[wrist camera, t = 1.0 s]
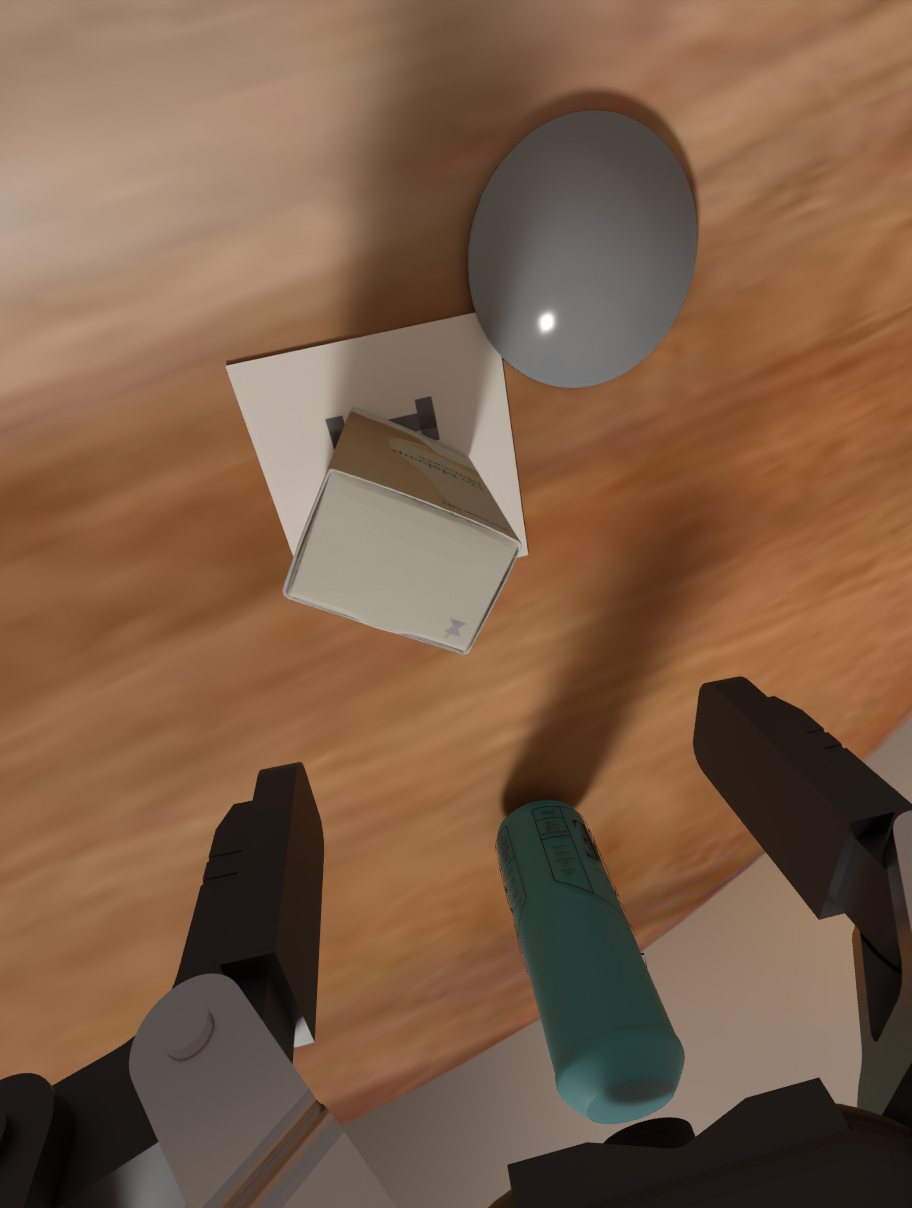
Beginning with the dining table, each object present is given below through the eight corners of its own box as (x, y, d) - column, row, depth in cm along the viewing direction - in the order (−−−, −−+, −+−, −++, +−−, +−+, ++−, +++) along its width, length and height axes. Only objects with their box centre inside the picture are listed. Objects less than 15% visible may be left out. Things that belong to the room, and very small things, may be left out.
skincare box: (471, 454, 27) (538, 545, 16) (436, 533, 29) (476, 662, 18) (345, 400, 25) (326, 461, 14) (315, 487, 27) (278, 601, 16)
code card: (494, 308, 24) (495, 308, 24) (527, 554, 30) (528, 555, 30) (226, 365, 24) (225, 366, 24) (310, 604, 30) (310, 605, 30)
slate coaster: (692, 92, 22) (700, 86, 21) (688, 362, 27) (694, 363, 26) (446, 141, 22) (448, 137, 21) (486, 406, 26) (489, 408, 26)
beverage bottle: (470, 827, 39) (552, 1241, 22) (531, 765, 37) (674, 1164, 20) (537, 856, 42) (659, 1250, 24) (597, 800, 40) (778, 1183, 22)
